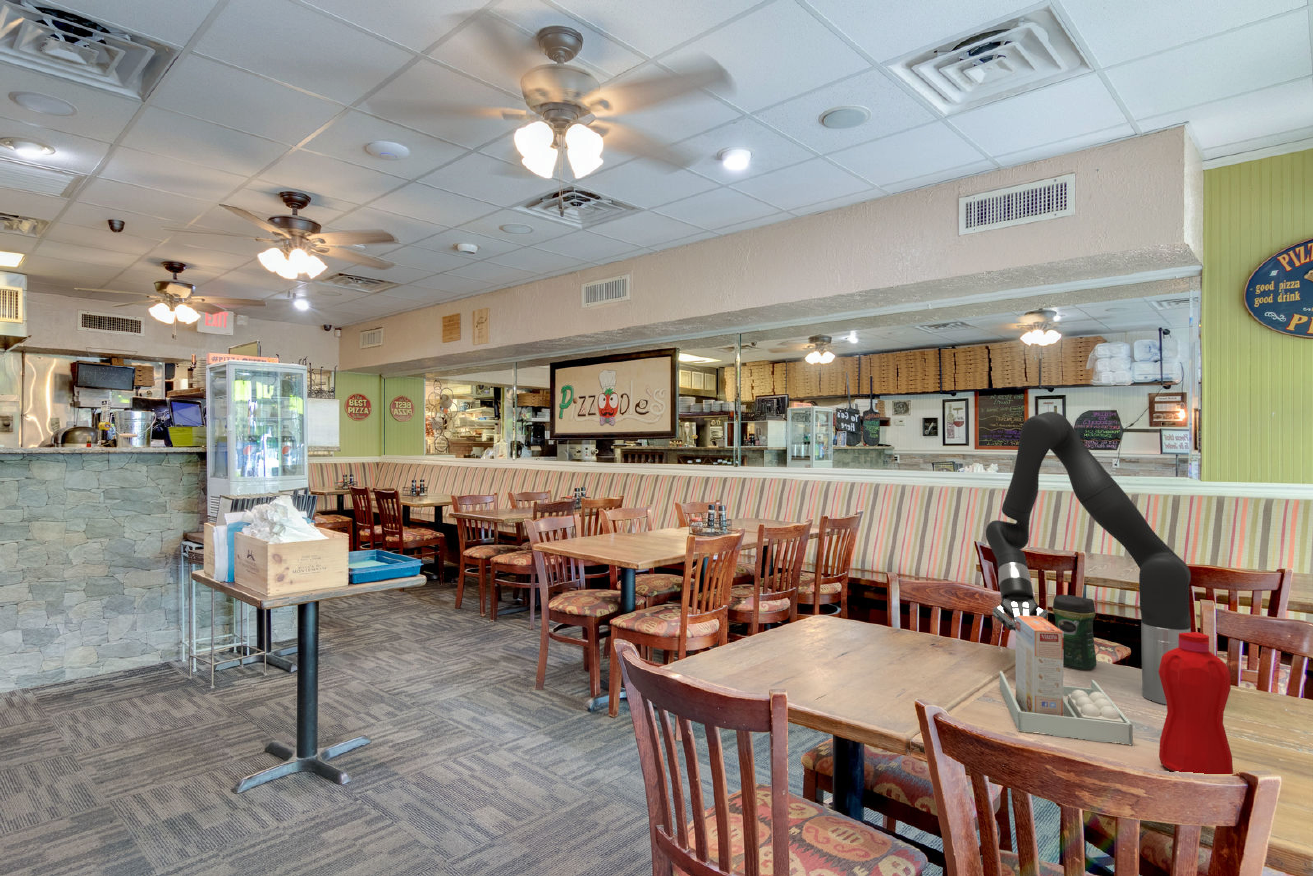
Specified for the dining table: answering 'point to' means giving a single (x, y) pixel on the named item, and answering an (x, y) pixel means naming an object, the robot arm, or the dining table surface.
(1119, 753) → the dining table surface
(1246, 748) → the dining table surface
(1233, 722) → the dining table surface
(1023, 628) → the cracker box
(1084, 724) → the grey shallow rectangular frame
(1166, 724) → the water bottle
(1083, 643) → the coffee jar
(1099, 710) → the egg carton
